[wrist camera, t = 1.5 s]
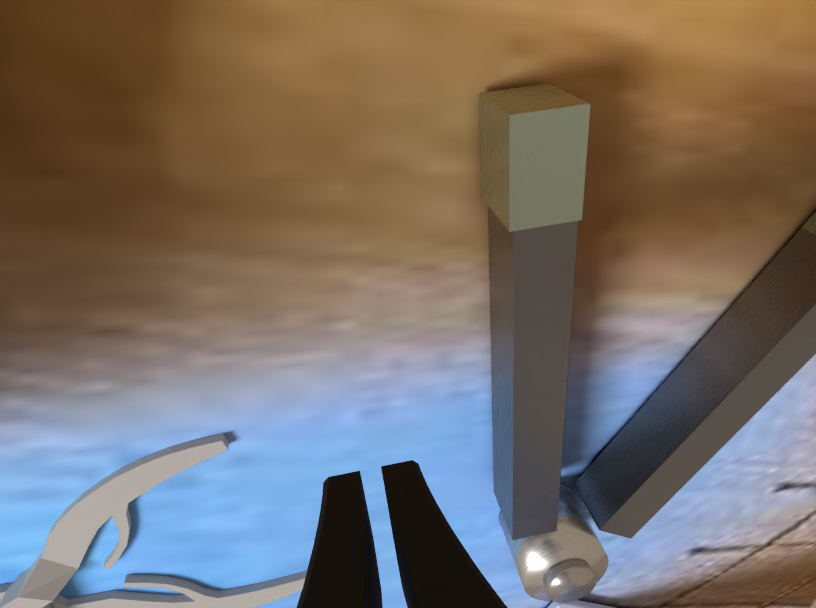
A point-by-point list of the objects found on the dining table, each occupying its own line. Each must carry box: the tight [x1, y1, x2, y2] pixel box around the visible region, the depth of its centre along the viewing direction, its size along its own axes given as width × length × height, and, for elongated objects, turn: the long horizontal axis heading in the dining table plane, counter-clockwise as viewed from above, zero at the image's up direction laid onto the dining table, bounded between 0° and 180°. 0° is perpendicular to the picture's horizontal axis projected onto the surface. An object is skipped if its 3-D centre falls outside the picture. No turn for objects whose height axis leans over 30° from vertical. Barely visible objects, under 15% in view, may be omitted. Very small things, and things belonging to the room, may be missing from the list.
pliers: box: [0, 433, 307, 608], centre depth 23 cm, size 10×2×15 cm
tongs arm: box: [479, 83, 591, 540], centre depth 19 cm, size 2×16×3 cm, turn 6°
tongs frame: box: [499, 212, 816, 603], centre depth 21 cm, size 4×20×4 cm, turn 150°
